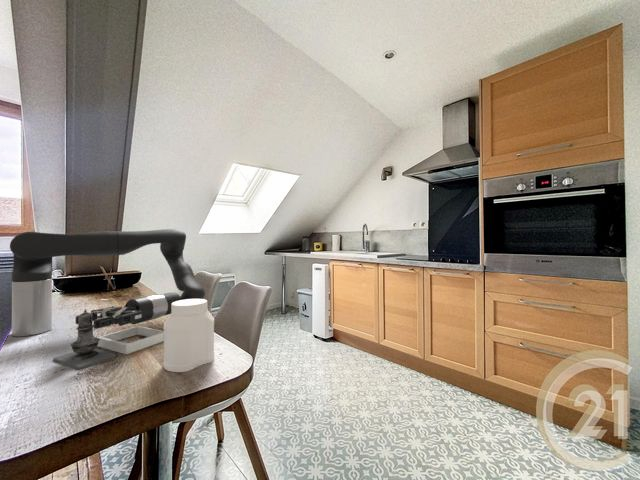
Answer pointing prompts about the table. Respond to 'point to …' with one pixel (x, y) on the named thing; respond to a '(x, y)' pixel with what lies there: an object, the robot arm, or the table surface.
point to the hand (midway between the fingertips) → (85, 322)
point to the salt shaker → (85, 338)
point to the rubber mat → (84, 363)
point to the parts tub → (113, 344)
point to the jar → (188, 336)
